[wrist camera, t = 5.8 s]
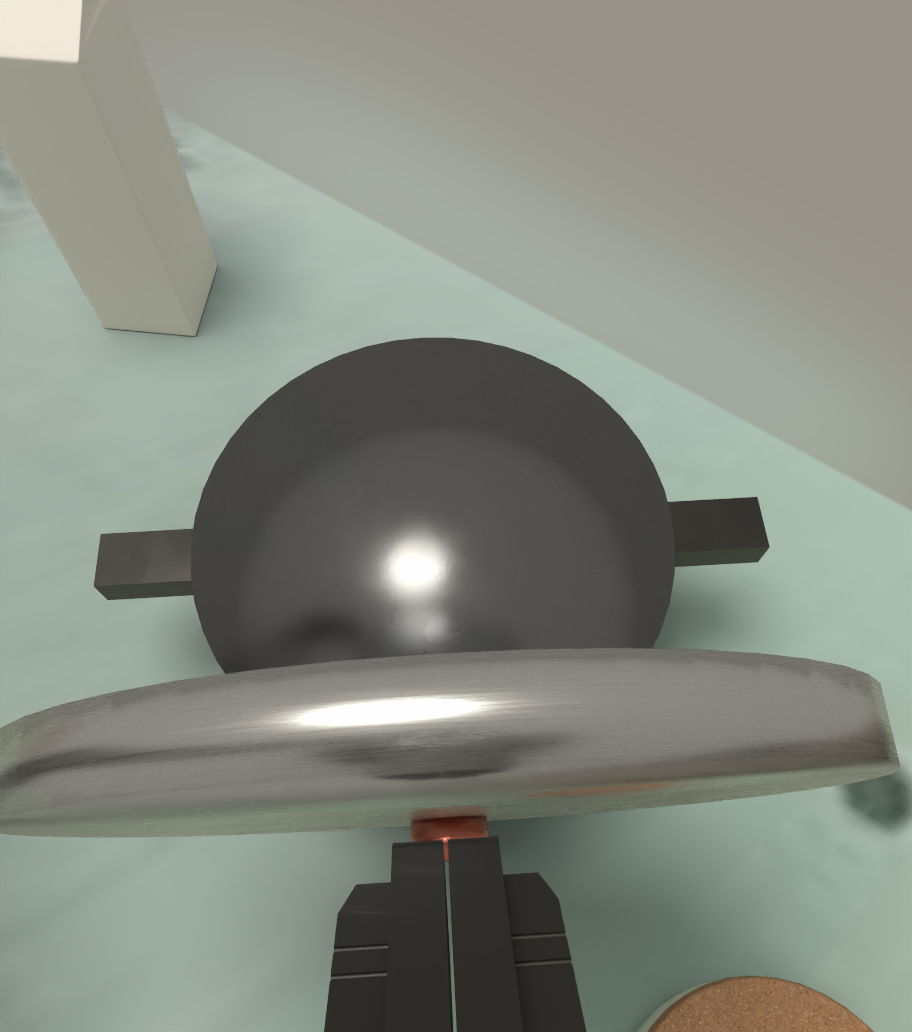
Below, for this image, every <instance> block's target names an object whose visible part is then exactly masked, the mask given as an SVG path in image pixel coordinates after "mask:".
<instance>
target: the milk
mask: <svg viewBox="0 0 912 1032" xmlns="http://www.w3.org/2000/svg"><path fill="white" fill-rule="evenodd" d="M0 146H1V148H2V149H3V151H4V153H5V155H6V156H7V158H8V160H9V162H10V164H11V165H12V167H13V169H14V171H15V172H16V174H17V176H18V178H19V179H20V181H21V183H22V185H23V186H24V188H25V190H26V192H27V193H28V195H29V197H30V199H31V200H32V202H33V204H34V206H35V207H36V209H37V211H38V213H39V214H40V216H41V218H42V220H43V221H44V223H45V225H46V227H47V228H48V230H49V232H50V234H51V235H52V237H53V239H54V241H55V242H56V244H57V246H58V248H59V249H60V251H61V253H62V255H63V256H64V258H65V260H66V262H67V263H68V265H69V267H70V269H71V270H72V272H73V274H74V276H75V277H76V279H77V281H78V283H79V284H80V286H81V288H82V290H83V292H84V293H85V295H86V297H87V299H88V300H89V302H90V304H91V306H92V307H93V309H94V311H95V313H96V314H97V316H98V318H99V320H100V321H101V323H102V325H103V326H104V328H110V329H121V330H132V331H143V332H153V333H164V334H175V335H186V336H196V333H197V330H198V327H199V323H200V320H201V317H202V314H203V311H204V307H205V304H206V301H207V298H208V295H209V291H210V288H211V285H212V282H213V279H214V275H215V272H216V269H217V262H216V259H215V256H214V254H213V251H212V248H211V245H210V242H209V239H208V236H207V234H206V231H205V228H204V225H203V222H202V219H201V217H200V214H199V211H198V208H197V205H196V202H195V200H194V197H193V194H192V191H191V188H190V185H189V183H188V180H187V177H186V174H185V171H184V168H183V165H182V163H181V160H180V157H179V154H178V151H177V148H176V146H175V143H174V140H173V137H172V134H171V131H170V129H169V126H168V123H167V120H166V117H165V114H164V112H163V109H162V106H161V103H160V100H159V98H158V95H157V92H156V89H155V86H154V83H153V80H152V77H151V75H150V72H149V69H148V66H147V63H146V60H145V58H144V55H143V52H142V49H141V46H140V43H139V41H138V38H137V35H136V32H135V29H134V26H133V24H132V21H131V18H130V15H129V12H128V9H127V6H126V4H125V1H124V0H0Z"/></svg>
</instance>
